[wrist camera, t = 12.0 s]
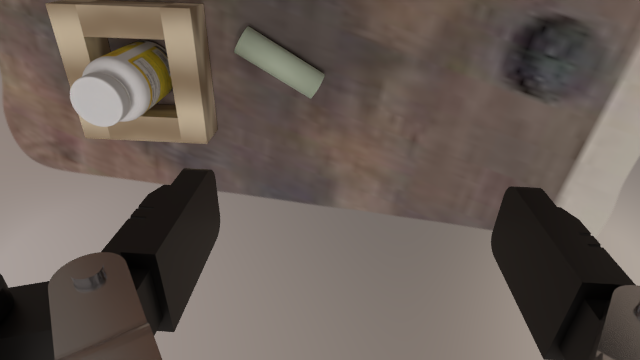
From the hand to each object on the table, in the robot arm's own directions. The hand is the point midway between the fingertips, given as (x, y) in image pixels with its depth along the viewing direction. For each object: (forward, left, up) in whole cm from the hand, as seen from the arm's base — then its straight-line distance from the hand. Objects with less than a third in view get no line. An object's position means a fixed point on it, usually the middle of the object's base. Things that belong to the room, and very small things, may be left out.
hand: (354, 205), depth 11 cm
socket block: (+4, -19, -28) cm, 34 cm away
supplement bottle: (+4, -19, -28) cm, 34 cm away
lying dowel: (+3, -6, -26) cm, 26 cm away
